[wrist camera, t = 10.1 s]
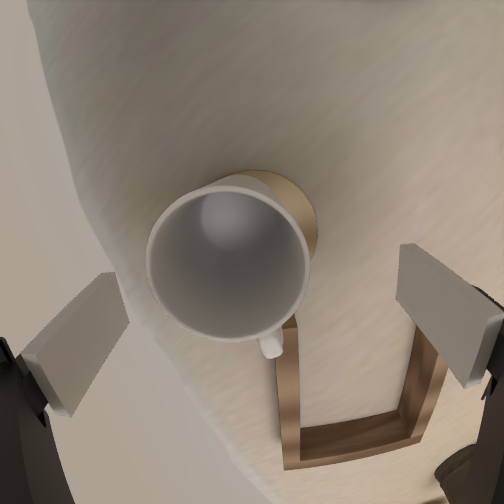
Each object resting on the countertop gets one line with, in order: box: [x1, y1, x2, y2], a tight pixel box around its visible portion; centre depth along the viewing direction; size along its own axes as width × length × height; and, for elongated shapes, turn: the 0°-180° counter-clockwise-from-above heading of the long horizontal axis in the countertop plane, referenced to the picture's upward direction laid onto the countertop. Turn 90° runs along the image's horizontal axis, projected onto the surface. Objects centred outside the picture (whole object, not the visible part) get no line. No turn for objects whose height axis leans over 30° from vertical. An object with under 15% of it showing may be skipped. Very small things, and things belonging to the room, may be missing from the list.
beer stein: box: [435, 444, 476, 504], centre depth 28 cm, size 15×11×20 cm
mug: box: [145, 175, 310, 359], centre depth 18 cm, size 10×7×12 cm, turn 23°
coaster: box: [229, 170, 318, 260], centre depth 24 cm, size 10×10×1 cm
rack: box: [275, 314, 448, 470], centre depth 27 cm, size 20×17×5 cm
